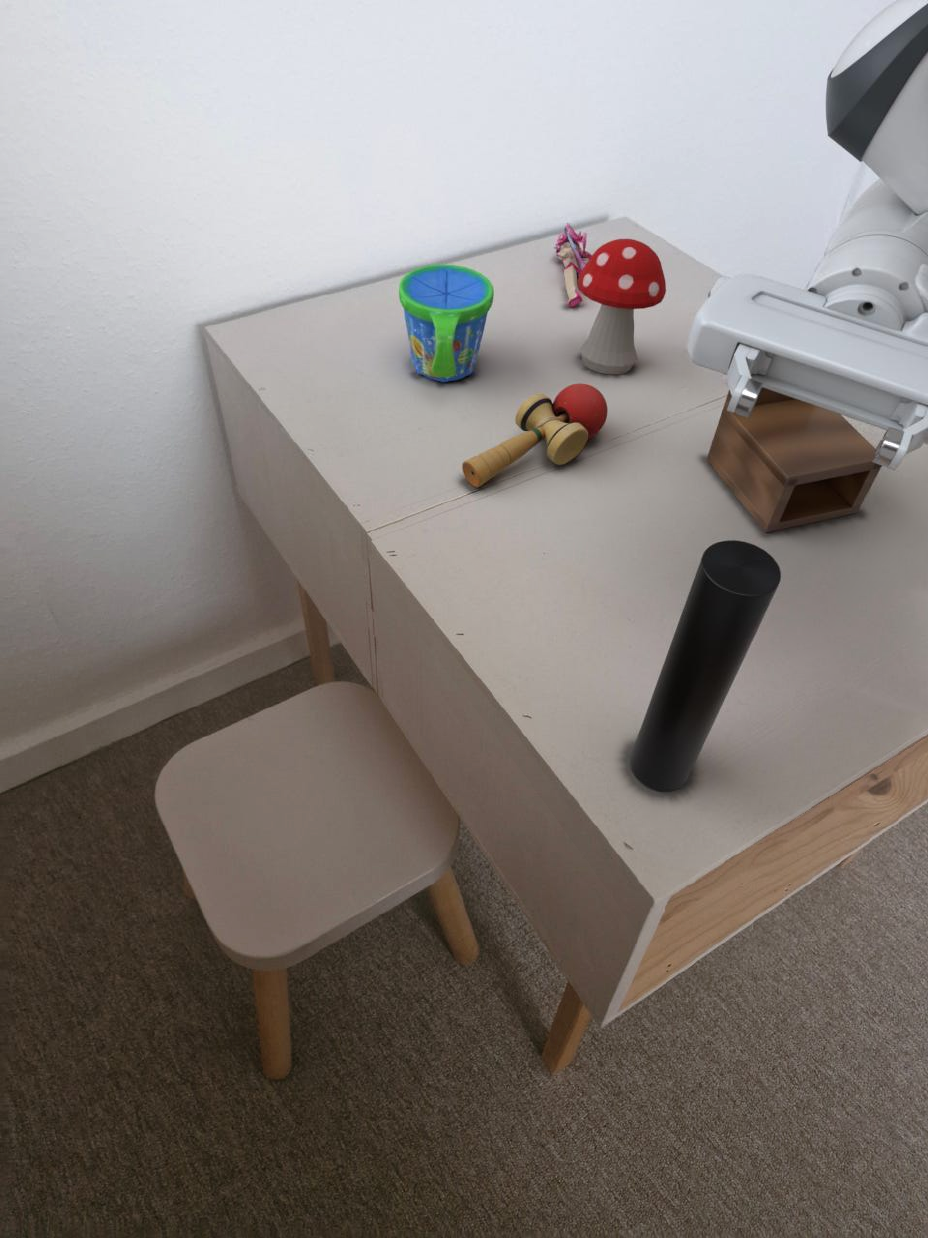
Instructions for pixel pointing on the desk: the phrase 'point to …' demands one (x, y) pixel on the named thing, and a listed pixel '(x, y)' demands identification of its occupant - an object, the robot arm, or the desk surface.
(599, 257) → the decorative mushroom
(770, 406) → the shelf
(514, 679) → the desk surface
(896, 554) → the desk surface
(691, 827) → the desk surface
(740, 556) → the cylinder
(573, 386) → the kendama
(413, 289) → the snack cup
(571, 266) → the toy
